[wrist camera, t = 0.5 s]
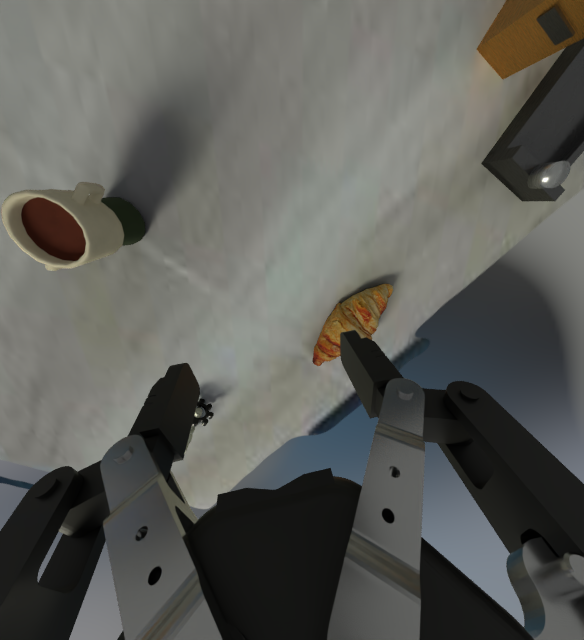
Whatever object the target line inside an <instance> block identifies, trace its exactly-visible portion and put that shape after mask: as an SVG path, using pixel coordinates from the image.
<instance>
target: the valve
mask: <svg viewBox="0 0 584 640" xmlns="http://www.w3.org/2000/svg"><path fill="white" fill-rule="evenodd" d="M204 401H205V400H204V399H200V400H199V402H198V403H197V406H198V407H197V408H196V411H195V415H194V419H193V423H192V427H191V431H190V435H189V439H188V442H187V446H186V450H185V452H186V451H187V448H188V445H189V443H190V441H191V439H192V433H193V432H194V430H195V426H196V425H197V424H198V422H202V425H203V426H205V425H206V424H207V423H208V419H206V418H207V417H209V419H211V418H212V417H213V415H214V414H213V412H209V410H210V409H211V408H212V405H211V404H208V405H205V404H204ZM200 407H202V408H204V410H205V412H206V414H205V416H204V417H202V418H200V417H201V415H202V409H201V408H200Z"/></svg>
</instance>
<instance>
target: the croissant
mask: <svg viewBox="0 0 584 640" xmlns="http://www.w3.org/2000/svg"><path fill="white" fill-rule="evenodd" d="M392 292H393V286H392V285H390V284H382V285H378V286H377V287H373V288H369V289H366V290H364V291H362V292H359V293H358V294H355V295H353V296H351V297H350V298H349V299H347V300H345V301H344V302H343V303H342V304H341V303H338V304H337V305H336V307H335V309H334V310H333V312H332V314H331V315H330V316H329V317H328V319H327V320H326V322H325V324H324V326H323V329H322V332H321V334H320V336H319V339H318V341H317V344H316V345H315V347H314V356H313V363H314V364H315V365H317V366H320V365H321V364H322V363H323V362H324V361H331V360H333V359H336V357H339V356H341V355H340V334H341V332H346V331H351V330H356V331H357V333H358V334H359V335H360V337H361V338H365V337H367V338H369V339H371V340H372V337H371V335H372V334H373V333H374V332H375V331H376V328H377V327H378V321H379V318H380V315H381V314H382V313H383V311H384V310H385V309H386V307H387V302H388V298H389V297H390V296H391V295H392Z"/></svg>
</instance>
